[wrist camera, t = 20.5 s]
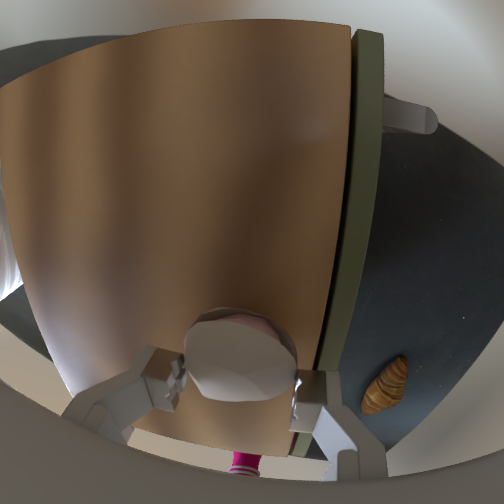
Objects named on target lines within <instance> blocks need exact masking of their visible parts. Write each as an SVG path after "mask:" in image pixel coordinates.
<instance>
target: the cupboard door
mask: <svg viewBox="0 0 504 504" xmlns="http://www.w3.org/2000/svg"><path fill="white" fill-rule="evenodd" d="M437 126H438V119H437V116H436V114H435V112H434V111H433V110H432V109H430V108H428V107H425V106H421V105H418V104H413V103H410V102H405V101H401V100H396V99H392V98H387V97H384V38H383V34H381V33H377V32H372V31H367V30H362V29H357V31H356V32H355V34H354V36H353V37H352V39H351V97H350V119H349V136H348V149H347V161H346V172H345V182H344V191H343V200H342V208H341V216H340V224H339V231H338V238H337V245H336V252H335V258H334V264H333V270H332V276H331V282H330V287H329V293H328V298H327V303H326V309H325V314H324V319H323V323H322V328H321V333H320V337H319V342H318V346H317V351H316V355H315V359H314V364H313V368H312V370H324V371H337V368H338V364H339V361H340V358H341V354H342V351H343V348H344V344H345V341H346V337H347V334H348V330H349V326H350V322H351V319H352V315H353V311H354V307H355V303H356V299H357V294H358V290H359V286H360V281H361V277H362V272H363V267H364V262H365V257H366V252H367V247H368V241H369V236H370V230H371V224H372V218H373V211H374V204H375V197H376V189H377V181H378V173H379V163H380V153H381V141H382V132H387V133H413V134H432V133H433V132H435V130H436V129H437ZM312 438H313V435H312V433H305V432H295V434H294V437H293V442H292V454H291V455H292V456H302V457H304V456H305V455H306V452H307V450H308V448H309V445H310V443H311V440H312Z"/></svg>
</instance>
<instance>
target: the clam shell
mask: <svg viewBox="0 0 504 504" xmlns="http://www.w3.org/2000/svg"><path fill="white" fill-rule="evenodd" d="M184 348H185V365H186V367H187V370H188V372H189V374H190V376H191V377H192V379H193V381H194V382H195V384H196V385H197V387H198V389H199V390H200V392H201V394H202V395H203V396H205V397H207V398H210V399H214V400H221V401H232V402H241V401H261V400H269V399H271V398H274V397H276V396H279V395H281V394H283V393H284V392H285V391H286V390H287V389H288V388H289V387H290V386H291V385H292V384H293V383H294V381H295V379H296V373H297V367H298V353H297V349H296V346H295V343H294V342H293V340H292V339H291V337H290V336H289V335H288V333H287V332H286V331H285V330H284V329H283V328H281V327H280V326H279V325H277V324H276V323H275V322H274V321H272V320H271V319H270V318H269V317H265V316H262V315H259V314H257V313H255V312H252V311H250V310H244V309H238V308H231V307H218V308H215V309H213V310H210V311H208V312H205V313H203V314H201V315H200V316H199V317H198V318H197V319H196V321H195V322H194V323H193V324H192V325H191V326H190V329H189V330H188V332H187V335H186V337H185V340H184Z"/></svg>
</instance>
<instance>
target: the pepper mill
mask: <svg viewBox="0 0 504 504" xmlns="http://www.w3.org/2000/svg"><path fill="white" fill-rule="evenodd" d="M233 452H234V459H233V464H232V466H231V467H229V468H228V473H234V474H240V475H247V476H254V477H259V476H260V472H259V471H258V465H259V461H260V459H261V456H262V455H257V454H249V453H242V452H235V451H233Z"/></svg>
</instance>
